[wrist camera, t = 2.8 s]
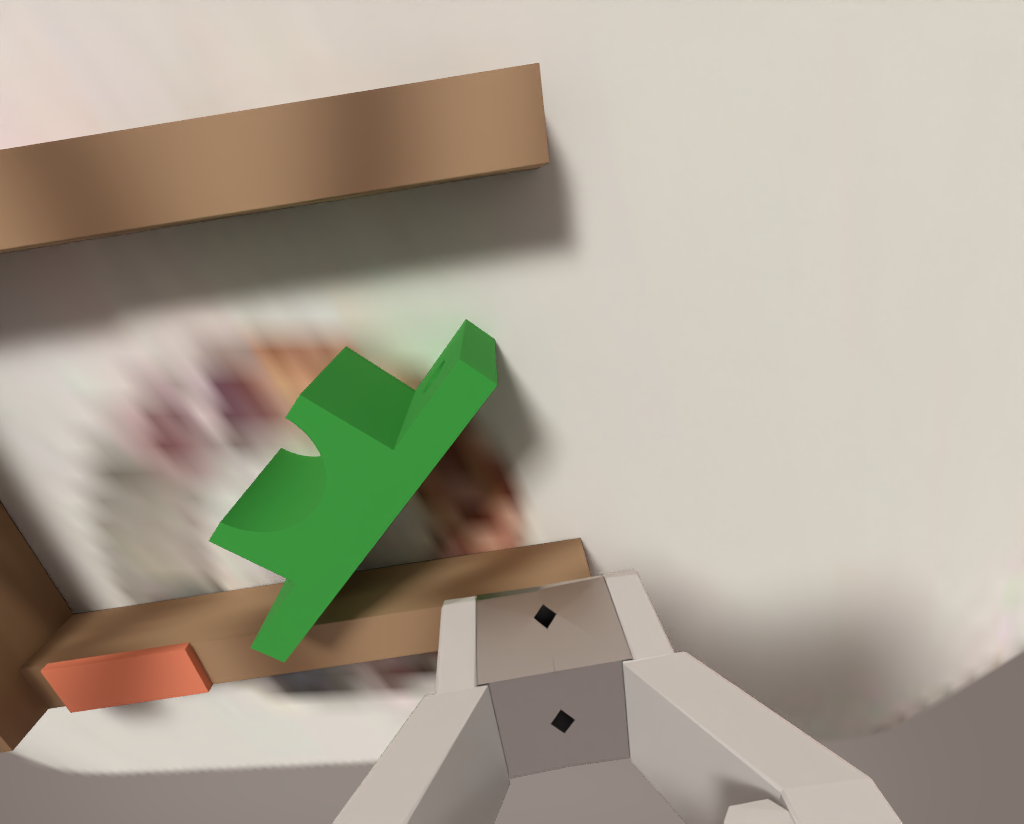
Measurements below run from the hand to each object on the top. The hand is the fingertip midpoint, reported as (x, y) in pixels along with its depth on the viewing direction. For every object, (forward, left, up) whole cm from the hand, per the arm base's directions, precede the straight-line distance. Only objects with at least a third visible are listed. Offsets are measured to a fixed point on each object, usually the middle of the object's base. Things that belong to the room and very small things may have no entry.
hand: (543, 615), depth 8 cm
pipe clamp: (+5, +1, -10) cm, 12 cm away
